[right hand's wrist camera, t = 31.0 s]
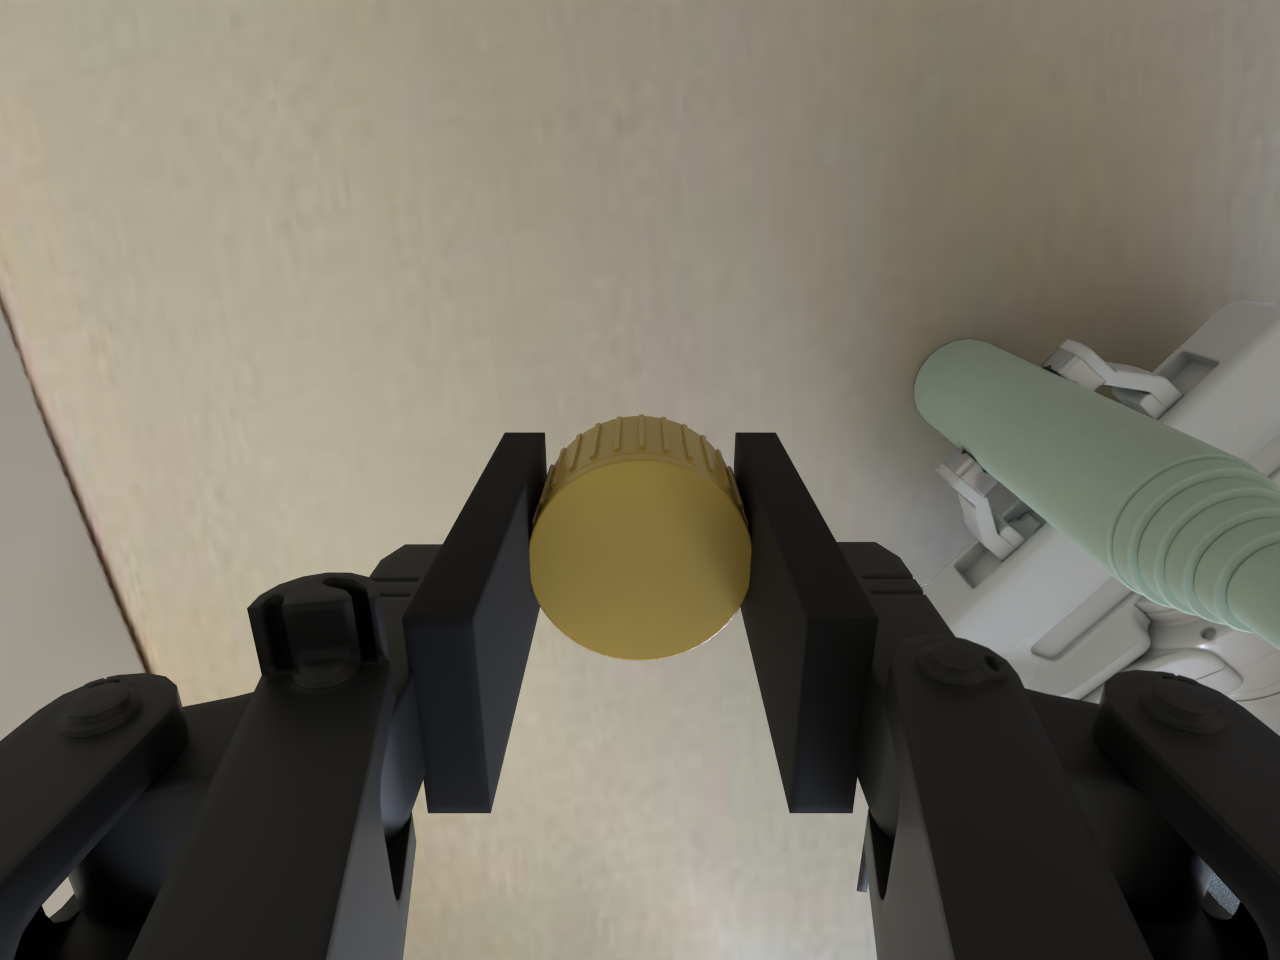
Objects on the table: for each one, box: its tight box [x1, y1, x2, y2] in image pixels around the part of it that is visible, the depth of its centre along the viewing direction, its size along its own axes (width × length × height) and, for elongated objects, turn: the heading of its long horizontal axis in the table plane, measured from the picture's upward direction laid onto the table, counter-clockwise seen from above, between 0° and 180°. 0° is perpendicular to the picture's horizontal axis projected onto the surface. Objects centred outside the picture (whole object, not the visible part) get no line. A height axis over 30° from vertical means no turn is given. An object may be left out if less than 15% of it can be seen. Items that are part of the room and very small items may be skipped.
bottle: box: [914, 339, 1280, 650], centre depth 27 cm, size 5×5×23 cm
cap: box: [529, 415, 752, 661], centre depth 13 cm, size 4×4×2 cm
